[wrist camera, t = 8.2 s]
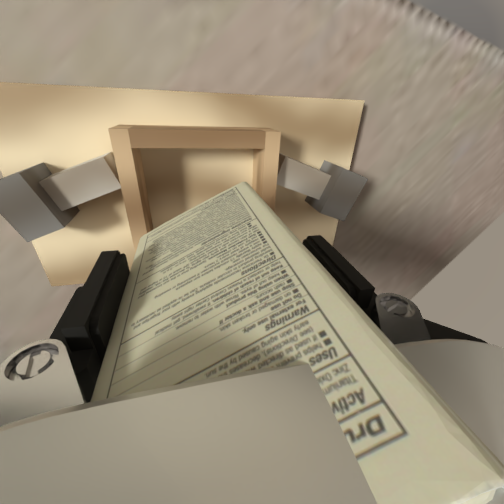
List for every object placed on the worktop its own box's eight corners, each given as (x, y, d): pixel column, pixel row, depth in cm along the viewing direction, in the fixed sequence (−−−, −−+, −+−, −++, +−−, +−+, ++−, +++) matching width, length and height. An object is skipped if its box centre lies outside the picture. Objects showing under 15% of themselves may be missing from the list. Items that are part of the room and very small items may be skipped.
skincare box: (185, 291, 15) (192, 686, 5) (135, 232, 13) (-53, 775, 2) (280, 241, 15) (492, 547, 5) (248, 172, 12) (543, 495, 2)
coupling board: (325, 253, 27) (345, 275, 24) (56, 279, 22) (33, 311, 18) (357, 100, 20) (391, 100, 17) (-27, 81, 15) (-88, 75, 11)
